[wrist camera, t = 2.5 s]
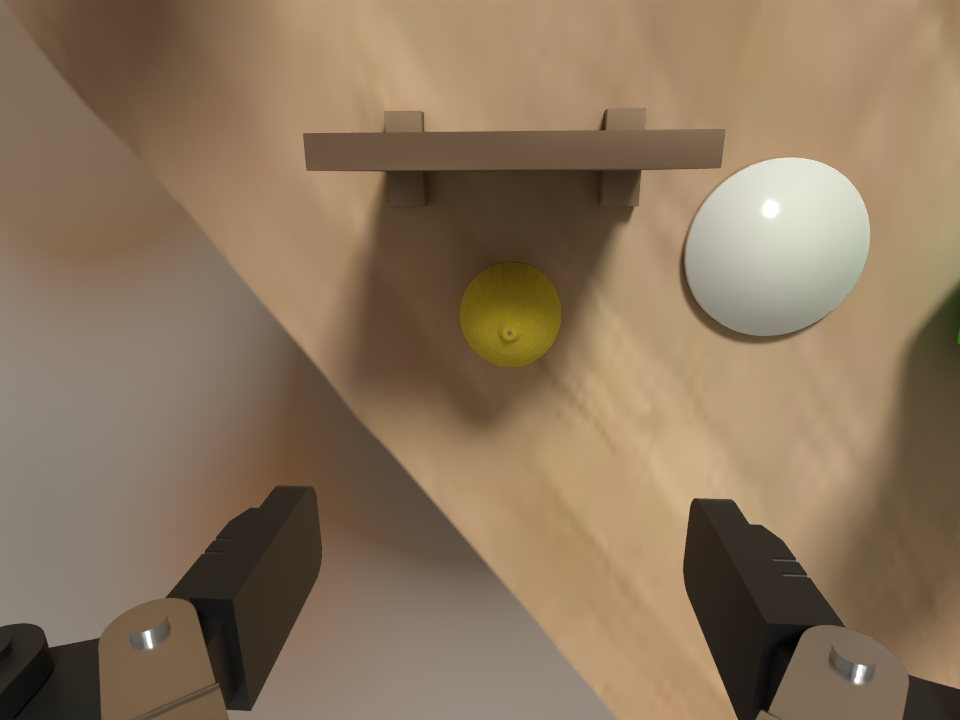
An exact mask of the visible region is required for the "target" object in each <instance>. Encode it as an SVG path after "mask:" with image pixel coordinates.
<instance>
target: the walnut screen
mask: <svg viewBox="0 0 960 720" xmlns="http://www.w3.org/2000/svg"><path fill="white" fill-rule="evenodd" d="M645 114H646V108H631V109H607V110H605V119H604V130H595V131H494V132H424V113H423V112H421V111H384V116H385V133H303V138H304V148H305V159H306V170H307V171H386V172H387V174H388V193H389V207H424V206H427V201H426V171H576V170H602V172H601V189H600V206H638V205H639V192H640V179H641V170H665V169H707V168H721V163H722V154H723V146H724V137H725V129H696V130H644V127H645Z"/></svg>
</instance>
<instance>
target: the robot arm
mask: <svg viewBox="0 0 960 720" xmlns="http://www.w3.org/2000/svg"><path fill="white" fill-rule="evenodd" d="M319 526H320V525H319V516H318V506H317V497H316V492H315V490H314V488H313V487H311V486H277V487H275V488H274V489H273V491H272V492H271V493H270V494H269V496H268V497H267V498H266V500H265V501H264V502H263V504H262V505H261V506H260V507H259V508H250V509H248V510H246V511H245V512H243V513H242V514H240V515H239V516H237V517H236V518H234V519H232V520H231V521H229V522H228V524H227V525H226V526H225V527H224V528H223V530H222V531H221V532H220V533H219V535H218V536H217V537H216V541H213V542H212V543H211V544H210V545H209V547H208V548H207V549H206V550H205V554H202V555H201V556H200V557H199V559H198V560H197V561H196V562H195V563H194V564H193V566H192V567H191V568H190V569H189V570H188V572H187V573H186V574H185V575H184V576H183V578H182V579H181V580H180V581H179V583H178V584H177V585H176V586H175V587H174V588H173V590H172V591H171V592H170V593H169V594H168V596H167V597H166V598H164V599H158V600H153V601H149V602H146V603H143V604H141V605H138V606H136V607H134V608H132V609H130V610H128V611H126V612H125V613H123V614H122V615H120V616H119V617H118V618H116V619H115V620H114V621H113V622H112V623H110V624H109V626H108V627H107V628H106V629H105V631H104V632H103V633H102V635H101V637H100V638H97V639H93V640H88V641H83V642H77V643H72V644H67V645H61V646H56V647H51V648H49V647H48V643H47V640H46V636H45V633H44V631H43V630H42V629H41V628H40V627H38V626H37V625H33V624H25V623H22V624H12V625H6V626H2V627H0V720H229V718H228V714H227V710H244V711H251V710H252V707H253V706H254V704H255V701H256V700H257V697H258V695H259V694H260V691H261V689H262V688H263V686H264V684H265V681H266V679H267V678H268V676H269V673H270V672H271V670H272V668H273V666H274V664H275V662H276V660H277V657H278V655H279V653H280V651H281V649H282V647H283V645H284V643H285V641H286V639H287V637H288V635H289V633H290V631H291V629H292V627H293V625H294V623H295V621H296V619H297V617H298V615H299V613H300V611H301V609H302V607H303V605H304V603H305V601H306V599H307V597H308V595H309V593H310V591H311V589H312V587H313V585H314V583H315V581H316V579H317V577H318V574H319V571H320V566H321V559H322V545H321V535H320V527H319ZM683 573H684V582H685V587H686V591H687V594H688V597H689V600H690V602H691V604H692V607H693V609H694V612H695V614H696V617H697V619H698V622H699V624H700V627H701V629H702V632H703V634H704V637H705V639H706V642H707V644H708V647H709V649H710V652H711V654H712V656H713V659H714V661H715V664H716V666H717V669H718V671H719V674H720V676H721V679H722V681H723V684H724V686H725V689H726V691H727V694H728V696H729V699H730V701H731V703H732V706H733V708H734V711H735V713H736V716H737V718H738V720H960V689H956V688H953V687H949V686H945V685H942V684H938V683H934V682H931V681H927V680H923V679H920V678H917V677H914V676H911V675H908V674H907V671H906V669H905V667H904V666H903V664H902V663H901V662H900V660H899V659H898V658H897V657H896V656H895V655H894V654H893V653H892V652H891V651H890V650H888V649H887V648H886V647H885V646H883V645H882V644H880V643H879V642H877V641H876V640H874V639H872V638H870V637H868V636H866V635H864V634H862V633H860V632H857V631H854V630H852V629H848V628H846V627H845V626H844V624H843V623H842V622H841V620H840V619H839V617H838V616H837V615H836V613H835V612H834V611H833V609H832V608H831V606H830V605H829V604H828V602H827V601H826V600H825V598H824V597H823V595H822V594H821V593H820V591H819V590H818V589H817V587H816V586H815V584H814V583H813V582H812V580H811V579H810V578H807V573H806V572H805V571H804V569H803V568H802V566H801V565H800V564H799V562H796V558H795V557H794V555H793V554H792V553H791V551H790V550H789V548H788V547H787V546H786V544H785V543H784V542H783V540H781V539H780V538H778V537H777V536H776V535H774V534H773V533H772V532H770V531H769V530H767V529H766V528H765V527H763V526H762V525H751V524H749V523H748V521H747V520H746V518H745V517H744V515H743V514H742V512H741V511H740V509H739V508H738V506H737V505H736V503H735V502H734V501H733V500H731V499H699V498H695V499H693V501H692V503H691V506H690V513H689V521H688V529H687V537H686V546H685V554H684V563H683Z"/></svg>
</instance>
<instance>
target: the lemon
mask: <svg viewBox="0 0 960 720" xmlns="http://www.w3.org/2000/svg"><path fill="white" fill-rule="evenodd" d="M561 320H562V311H561V302H560V299H559V296H558V293H557V291H556V289H555V287H554V286H553V284H552V283H551V281H550V280H549V279H548V278H547V277H546V276H545V275H544V274H543V273H541V272H540V271H539V270H537V269H535V268H533V267H531V266H529V265H527V264H522V263H517V262H504V263H499V264H496V265H493V266H490V267H488V268H487V269H485V270H484V271H482V272H480V273H479V274H478V275H477V276H476V277H475V278H474V279H473V280H472V281H471V282H470V283H469V285H468V287H467V289H466V290H465V292H464V294H463V297H462V301H461V305H460V325H461V329H462V333H463V336H464V338H465V339H466V341H467V343H468V345H469V346H470V348H471V349H472V350H473V351H474V352H475V353H476V354H477V355H478V356H479V357H480V358H482V359H484V360H485V361H487V362H488V363H491V364H494V365H497V366H500V367H510V368H513V367H520V366H525V365H527V364H529V363H532V362H534V361H536V360H537V359H539V358H540V357H541V356H543V355H544V354H545V353H546V352H547V351H548V350H549V348H550V347H551V346H552V345H553V343H554V342H555V339H556V337H557V335H558V333H559V330H560V325H561Z"/></svg>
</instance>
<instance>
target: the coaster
mask: <svg viewBox="0 0 960 720" xmlns="http://www.w3.org/2000/svg"><path fill="white" fill-rule="evenodd" d="M869 243H870V224H869V218H868V214H867V210H866V207H865V204H864V202H863V200H862V198H861V196H860V194H859V193H858V191H857V190H856V188H855V187H854V185H853V184H852V183H851V182H850V181H849V180H848V179H847V178H846V177H845V176H843V175H842V174H841V173H839V172H838V171H837V170H835V169H833V168H831V167H830V166H828V165H826V164H823V163H820V162H817V161H814V160H809V159H804V158H777V159H770V160H765V161H761V162H758V163H755V164H752V165H749V166H747V167H745V168H743V169H741V170H739V171H737V172H735V173H734V174H732V175H731V176H729V177H727V178H726V179H725V180H724V181H722V182H721V183H720V184H719V185H718V186H716V187H715V189H714V190H713V191H712V192H711V193H710V194H709V195H708V196H707V197H706V199H705V200H704V201H703V202H702V204H701V205H700V207H699V208H698V210H697V212H696V213H695V215H694V217H693V219H692V222H691V224H690V226H689V229H688V233H687V236H686V240H685V246H684V271H685V275H686V280H687V283H688V286H689V288H690V291H691V293H692V295H693V296H694V298H695V300H696V301H697V303H698V304H699V305H700V306H701V308H702V309H703V310H704V311H705V312H706V313H707V314H708V315H709V316H711V317H712V318H713V319H715V320H716V321H718V322H719V323H720V324H722V325H724V326H726V327H728V328H730V329H732V330H734V331H737V332H740V333H744V334H749V335H756V336H775V335H781V334H787V333H790V332H794V331H797V330H800V329H802V328H805V327H807V326H809V325H811V324H813V323H815V322H817V321H818V320H820V319H822V318H823V317H824V316H826V315H827V314H829V313H830V312H831V311H832V310H833V309H835V308H836V307H837V306H838V305H839V304H840V303H841V302H842V301H843V300H844V298H845V297H846V296H847V295H848V294H849V292H850V291H851V290H852V288H853V287H854V285H855V284H856V282H857V280H858V278H859V276H860V275H861V272H862V270H863V267H864V265H865V262H866V259H867V255H868V251H869Z"/></svg>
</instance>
